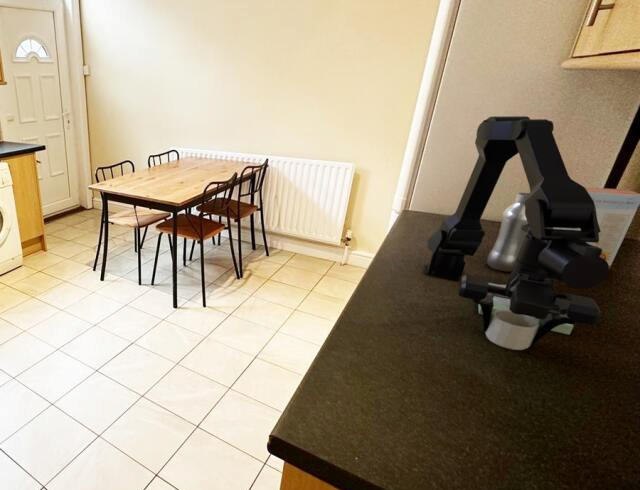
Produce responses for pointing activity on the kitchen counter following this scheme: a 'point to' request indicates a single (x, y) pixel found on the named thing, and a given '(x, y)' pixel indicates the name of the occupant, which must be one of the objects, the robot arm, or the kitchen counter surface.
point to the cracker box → (612, 218)
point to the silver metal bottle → (509, 236)
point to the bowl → (511, 329)
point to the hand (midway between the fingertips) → (507, 336)
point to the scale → (505, 305)
